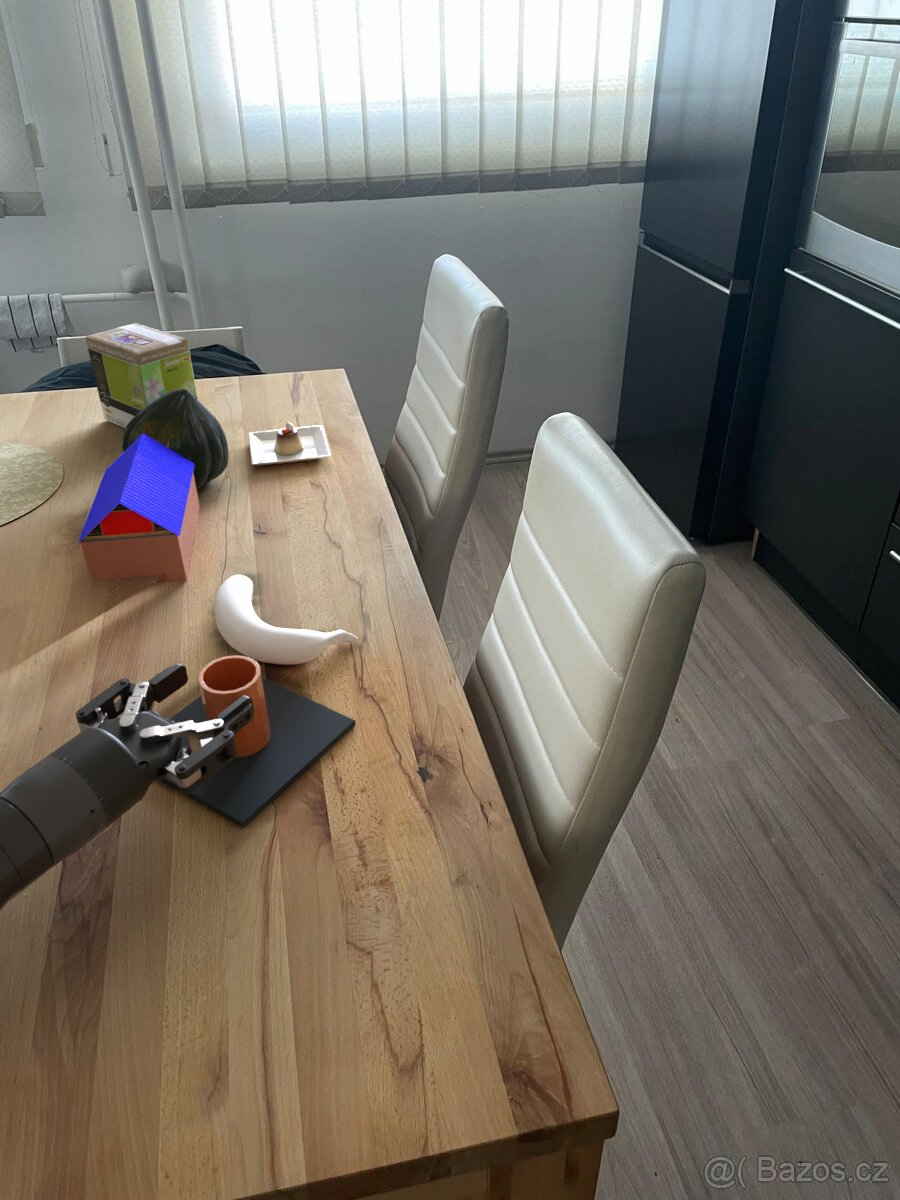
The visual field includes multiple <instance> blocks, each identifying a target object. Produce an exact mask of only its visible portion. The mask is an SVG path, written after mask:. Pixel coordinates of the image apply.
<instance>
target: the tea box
mask: <svg viewBox="0 0 900 1200" xmlns="http://www.w3.org/2000/svg"><path fill="white" fill-rule="evenodd" d="M85 341H86V346H87V351H88V356H89V359H90V362H91V367H92V372H93V376H94V380H95V385H96V389H97V393H98V398H99V403H100V407H101V411H102V415H103V419H104V420H105V421H107V422H109V423H112V424H115V426H119V427H121V428H123V429H125V428H126V426H127V424H128V423H129V422H130V421H131V420H132V419H133V418H134V417H135V416H136V415H137V414H138V413H139V412H141V411H142V410H143V409H144V408H145V407H147V406H148V405H149V404H151V403H152V402H153V401H155V400H156V399H158V398H159V397H161V396H162V395H164V394H166V393H168V392H170V391H172V390H176V389H184V388H186V389H187V390H188V391H190V392H191V393H192V394H193V395H194V396H195V397H196V399H197V400H198V401H199V399H198V392H197V387H196V382H195V375H194V368H193V364H192V358H191V350H190V346H189V340H188V339H187V338H184V337H182V336H178V335H176V334H172V333H168V332H165V331H163V330H159V329H156V328H152V327H150V326H147V325H143V324H139V323H137V322H133V323H130V324H126V325H123V326H119V327H116V328H112V329H108V330H104V331H101V332H97V333H94V334H90V335H86V336H85Z"/></svg>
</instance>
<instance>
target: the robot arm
mask: <svg viewBox="0 0 900 1200" xmlns="http://www.w3.org/2000/svg"><path fill="white" fill-rule="evenodd" d="M188 680H189V676H188V671H187V666H185V665H183V664H181V663H180V662H179V663H178V662H177V663H175V664H174V665H172V666H168V667H166V668H164V669H163V670H162V671H160V672H159V673H157V674H156V675H155V676H153V677H152V678H151V679H149V680H148V681H146V680H143V681H139V682H136V683H134V682H131V680H130V679H129V678H127V677H123V678H120V679H118V680H117V681H115V682H114V683H113V684H111V685H110V686H109V687H108V688H106V689H105V690H103V691H102V692H100V693H99V694H98V695H96V696H95V697H93V698H92V700H90V701H88V702H87V703H86V704H84V705H83V706H82V707H80V708H79V709H77V710H76V712H75V718H76V722H77V725H78V728H79V730H80V733H78V734H77V735H74V737H72V738H71V739H70V740H68V741H67V742H65V743H64V744H62V745H61V746H59V747H58V748H57V749H55V750H54V751H52V752H51V753H49V754H48V755H47V756H45V757H44V758H42V759H41V760H40V761H38V762H37V763H35V764H34V765H33V766H31V767H30V768H28V769H26V770H25V771H24V772H22V773H21V774H20V775H18V776H16V778H14V779H13V780H12V781H11V782H10V783H9V784H8V785H7V786H5V788H4V789H3V790H1V791H0V912H1V911H2V910H3V909H4V908H5V907H6V905H8V903H9V902H11V901H12V900H13V899H15V898H16V897H18V895H20V894H21V893H22V892H23V891H25V890H26V889H27V888H29V887H30V886H31V885H32V884H34V883H36V881H38V879H40V878H41V877H42V876H44V875H45V874H46V873H47V872H48V871H50V870H51V869H52V868H54V867H55V866H57V865H58V864H59V863H61V862H62V861H64V860H66V859H67V858H69V857H71V856H72V855H74V854H75V853H77V852H78V851H80V850H81V849H82V848H84V847H85V846H86V845H87V844H88V843H90V842H91V841H92V840H94V838H96V837H97V836H98V835H100V834H101V833H102V832H103V831H104V830H106V829H107V828H108V827H109V826H111V825H112V824H113V823H115V822H117V820H118V819H119V818H121V817H122V816H123V815H125V814H126V813H127V812H128V811H129V810H131V809H132V808H134V806H135V805H137V804H138V803H139V802H141V801H142V800H143V799H144V797H145V796H146V794H147V792H148V790H149V789H150V787H151V785H152V784H154V783H155V782H156V781H159V780H161V778H164V777H167V776H168V777H169V778H171V779H172V780H174V781H175V782H177V783H178V785H179V789H180V790H179V792H180V794H183V795H187V794H189V793H191V792H192V791H194V790H195V789H196V788H198V787H199V786H200V785H202V784H203V783H204V782H206V781H207V780H208V779H209V778H211V777H212V776H213V775H215V774H216V773H217V772H219V771H220V770H221V769H223V768H224V767H225V766H227V765H228V764H229V763H230V762H232V761H233V760H234V759H236V758H237V749H236V744H235V739H234V734H236V733H237V732H238V731H239V730H241V729H242V728H243V727H244V726H245V725H246V724H248V723H249V722H250V721H251V720H252V719H253V717H254V716H253V714H254V707H253V701H252V698H250V697H248V696H246V695H243V696H242V697H240V698H239V699H238V700H236V701H235V702H234V703H233V704H231V705H230V706H229V707H228V708H226V709H225V710H224V711H222V712H221V713H220V714H219V715H217V716H216V718H217V719H213V720H209V721H205V722H200V723H195V722H194V721H191V720H189V721H185V722H180V723H176V722H174V721H172V720H170V718H165V717H162V716H161V715H160V714H159V713H158V712H157V711H155V710H154V706H155V703H154V702H156V703H157V704H160V703H162V702H164V701H165V700H166V699H168V698H169V697H170V696H171V695H173V694H174V693H176V692H177V691H178V690H180V689H181V688H183V687H184V686H185V685H187V683H188ZM118 697H120V698H119V699H118V700H117V701H115V700H116V699H117V698H118ZM206 734H212V737H211V738H207V739H203V740H200V739H198V737H199V736H202V735H206ZM181 736H186V737H188V738H189V742H190V745H189V746H188V747H185V748H181V745H182V739H181ZM219 751H221V753H219V754H218V755H217V756H216V754H217V753H218V752H219Z"/></svg>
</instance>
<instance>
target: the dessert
mask: <svg viewBox="0 0 900 1200" xmlns="http://www.w3.org/2000/svg"><path fill="white" fill-rule="evenodd" d="M247 434H248V435H247V436H248V444H249V452H250V453H249V454H250V462H251V465H255V466H270V465H280V464H287V463H289V464H290V463H298V462H307V461H316V460H323V459H325V458H329V457H331V452H330V449H329V445H328V441H327V438H326V437H327V436H326V434H325V430H324V427H323V425H322V424H320V425H310V426H309V425H308V426H299V427H295V425H294V424H293V422H292V423H291V422H290V421H286V424H285V426H284V427H281V428H279V429H271V430H270V429H269V430H260V431H249V432H248V433H247Z"/></svg>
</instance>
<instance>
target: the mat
mask: <svg viewBox="0 0 900 1200" xmlns="http://www.w3.org/2000/svg"><path fill="white" fill-rule="evenodd" d="M262 680H263V686H264V692H265V698H266V704H267V710H268V716H269V723H270V731H271V736H270V739H269V742H268V743H267V744H266V746H265V747H264V748H262V749H261V750H260V751H258V752H256V753H254V754H252V755H249V756H246V757H239V758H236V759H234V760H233V761H232V762H230V763H229V764H228V765H227V766H225V767H224V768H223V769H221V770H220V771H219V772H217V773H216V774H215V775H213V776H212V777H211V778H209V779H208V780H207V781H206V782H204V783H203V784H202V785H200V786H199V787H198V788H196V789H195V790H194V791H192V792H191V793H189V794H186V795H187V796H189V797H190V798H192V799H194V800H196V801H198V802H199V803H201V804H203V805H205V806H206V807H208V808H209V809H211V810H213V811H215V812H217V814H220V815H222V816H224V817H226V818H227V819H228V820H231V821H232V822H234V823H236V824H238V825H240V826H241V827H243V828H245V827H246V826H247V825H248V824H249V823H250V822H251V821H252V820H253V819H254V818H256V817H257V816H258V815H259V814H260V813H261V812H262V811H263V810H265V808H267V807H268V806H269V805H270V804H271V803H272V802H273V801H274V800H275V799H277V797H278V796H280V794H282V793H283V792H284V791H285V790H286V789H287V788H288V787H289V786H290V785H291V784H293V783H294V782H295V781H296V780H297V779H298V778H299V777H300V776H301V775H303V773H305V772H306V771H307V770H308V769H309V768H310V767H311V766H312V765H313V764H314V763H315V762H317V760H319V759H320V758H321V757H322V756H323V755H324V754H325V753H327V751H329V750H330V749H331V748H332V747H333V746H334V745H336V743H337V742H339V741H340V739H342V738H343V737H344V736H345V735H346V734H347V733H348V732H349V731H350V730H351V729H353V728H354V727H355V726H356V720H355V719H353V718H351V717H349V716H347V715H344V714H342V713H341V712H338V711H335V710H333V709H331V708H329V707H327V706H325V705H323V704H320V703H319V702H316V701H314V700H312V699H310V698H308V697H305V696H303V695H301V694H299V693H297V692H295V691H292V690H291V689H288V688H286V687H284V686H282V685H280V684H278V683H275V682H273V681H271V680H269V679H267V678H265V677H262ZM169 719H170V720H172V721H174V722H176V723H180V722H185V721H189V720H191V721H194V722H195V723H200V722H205V721H207V720H206V715H205V711H204V706H203V701H202V697H201V695H199V696H198V697H197V698H195V699H194V700H193V701H191V702H190V703H189V704H187V705H186V706H185V707H183V708H182V709H181V710H179V711H178V712H177V713H175V714H174V715H173V716H172V717H170V718H169ZM207 738H210V734H206V735H202V736H199V737H198V739H200V740H203V739H207ZM181 739H182V745H181V748H185V747H188V746H189V745H190V742H189V738H188V737H186V736H181ZM218 754H219V753H217V754H216V756H217V755H218ZM160 780H161V781H162V782H164V783H166V784H168V785H169V786H171V787H173V788H175V789H176V790H178V791H180V789H179V785H178V783H177V782H175V781H174V780H172V779H171V778H169V777H168V776H167V777H164V778H161V779H160Z"/></svg>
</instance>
